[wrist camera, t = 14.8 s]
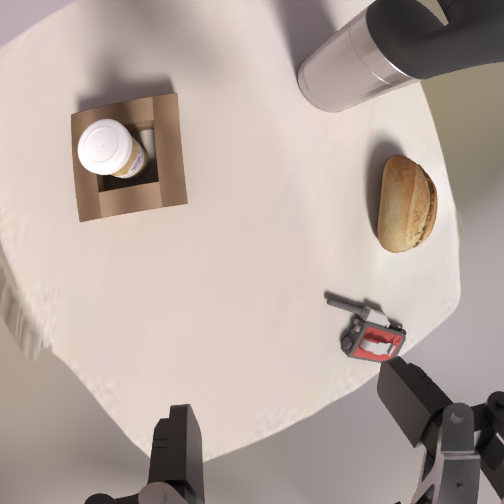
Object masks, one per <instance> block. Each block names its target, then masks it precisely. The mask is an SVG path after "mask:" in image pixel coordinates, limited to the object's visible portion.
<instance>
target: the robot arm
mask: <svg viewBox="0 0 504 504" xmlns="http://www.w3.org/2000/svg"><path fill="white" fill-rule="evenodd" d="M437 1H438V3H439V5H440V6H441V8H442V10H443V12H444V14H445V16H446V18H447V20H448V22H449V23H448V24H447V25H446V26H444V25H443V24H442V23H441V22H440V21H439V19H438V18H437V17H436V16H434V14H433V13H432V12H430V10H429V9H427V8H426V7H425V6H424V5H422V4H421V3H419V2H418V1H416V0H376V1H374V2H373V3H372V4H371V5H369V6H368V7H367V8H365V9H364V10H363V11H362V12H360V13H359V14H358V15H357V16H355V17H354V18H353V19H352V20H351V21H349V22H348V23H347V24H346V25H345V26H343V27H342V28H341V29H340V30H339V31H337V32H336V33H335V34H334V35H333V36H332V37H330V38H329V39H328V40H327V41H326V42H325V43H324V44H322V45H321V46H320V47H319V48H318V49H317V50H316V51H315V52H314V53H312V54H311V55H310V56H309V57H308V58H307V59H306V60H305V61H304V62H303V63H302V64H301V66H300V68H299V70H298V84H299V87H300V89H301V91H302V93H303V95H304V96H305V98H306V99H307V100H308V101H309V102H310V103H311V104H312V105H314V106H315V107H317V108H319V109H321V110H323V111H327V112H340V111H343V110H345V109H347V108H350V107H352V106H355V105H357V104H360V103H362V102H365V101H367V100H370V99H372V98H375V97H378V96H380V95H383V94H385V93H388V92H391V91H394V90H396V89H399V88H402V87H405V86H407V85H410V84H413V83H416V82H419V81H422V80H425V79H428V78H431V77H434V76H437V75H441V74H445V73H449V72H453V71H457V70H461V69H465V68H469V67H473V66H478V65H484V64H489V63H497V62H504V0H437ZM377 391H378V395H379V397H380V399H381V400H382V402H383V403H384V405H385V406H386V408H387V409H388V410H389V412H390V413H391V415H392V416H393V418H394V419H395V421H396V422H397V424H398V425H399V426H400V428H401V429H402V431H403V432H404V434H405V435H406V437H407V438H408V440H409V441H410V443H411V444H412V445H413V447H414V448H417V447H418V446H420V445H422V444H423V445H424V446H425V447H426V448H425V450H424V455H423V461H422V467H421V472H420V477H419V481H418V485H417V488H416V491H415V493H414V495H413V497H412V500H411V503H410V504H477V499H478V490H479V478H480V468H481V470H482V471H483V472H484V474H485V476H486V477H487V479H488V480H489V481H490V483H491V485H492V486H493V488H494V489H495V491H496V492H497V494H498V496H499V497H500V499H501V503H500V504H504V445H503V443H502V442H501V441H500V440H499V438H498V437H497V436H496V434H497V432H498V434H499V435H500V436H501V437H502V439H503V440H504V392H502V391H497V392H494V393H492V394H491V395H490V396H489V397H488V399H487V402H486V403H483V404H480V405H477V406H473V407H469V406H468V405H466V404H464V403H453V402H452V401H451V400H450V399H449V398H448V397H447V396H446V394H445V393H444V392H443V391H442V390H441V389H440V388H439V387H438V386H437V385H436V384H435V383H434V382H433V381H432V380H431V378H429V377H428V376H427V374H426V373H425V372H424V371H423V370H422V369H421V368H420V367H418V366H416V365H413V364H412V363H409V364H406V362H405V361H404V360H403V359H402V358H401V357H400V356H396V357H393V358H391V359H388V360H385V361H383V362H382V363H381V367H380V373H379V379H378V384H377ZM85 504H205V498H204V481H203V460H202V437H201V431H200V428H199V425H198V422H197V420H196V418H195V415H194V413H193V410H192V408H191V405H190V404H183V405H172V406H171V407H170V414H169V418H164V419H160V420H159V422H158V423H157V425H156V427H155V428H154V435H153V442H152V451H151V459H150V469H149V479H148V483H147V485H146V486H145V487H143V488H142V489H141V491H140V492H139V493H137V494H135V495H132V496H127V497H123V498H117V499H113V498H112V497H111V496H109V495H107V494H101V493H100V494H94V495H92V496H90V497H89V498H88V499H87V500H86V501H85ZM395 504H401V503H400V502H397V503H395Z"/></svg>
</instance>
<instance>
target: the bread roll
mask: <svg viewBox="0 0 504 504" xmlns="http://www.w3.org/2000/svg"><path fill="white" fill-rule="evenodd" d="M436 214H437V191H436V188H435V185H434V183H433V182H432V180H431V178H430V177H429V175H428V174H427V173H426V172H425V171H424V169H423V168H422V167H421V166H420V165H419V164H416V163H415V162H414V161H412V160H411V159H409V158H407V157H405V156H403V155H395V156H392V157H391V158H390V159H389V160H388V161H387V163H386V165H385V167H384V170H383V176H382V189H381V200H380V208H379V217H378V226H377V231H378V238H379V242H380V244H381V246H382V247H383V248H384V249H386V250H388V251H390V252H393V253H399V252H405V251H407V250H409V249H412V248H414V247H417V246H418V245H419V244H421V243H422V242H423V241H424V240H426V238H427V237H428V236H429V235H430V233H431V231H432V229H433V226H434V223H435V220H436Z"/></svg>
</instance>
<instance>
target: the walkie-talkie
mask: <svg viewBox="0 0 504 504" xmlns="http://www.w3.org/2000/svg"><path fill="white" fill-rule="evenodd" d="M327 304H328V305H331V306H334V307H338V308H341V309H344V310H347V311H350V312H353V313H356V314H358V315H359V316H360V317H358V318H357V319H354V320H353V323H354V325H353V327H352V329H351V331H350V333H349V335H348V337H345V338H344V339H343V341H342V348H341V349H342V351H343V352H344V353H345V354H346V355H347V356H348V357H351V358H356V359H361V360H368V361H372V362H373V361H374V362H378V363H379V362H380V363H382V362H383V361H385V360H388V359H391V358H393V357H396V356H397V355H398V353H399V351H400V349H401V347H402V346H403V344H404V342H405V338H406V337H405V335H406V331H405V330H404V329H401V328H398V327H394V326H391V324H390V322H388V319H387V316H386V315H385V314H384V313H382V312H380V311H378V310H375V309H372V308H370V307H369V306H366V305H365V307H364V308H359V307H356V306H353V305H350V304H347V303H344V302H341V301H338V300H335V299H332V298H329V299H328V300H327ZM402 331H403V332H402Z"/></svg>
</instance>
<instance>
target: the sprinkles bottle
mask: <svg viewBox="0 0 504 504" xmlns="http://www.w3.org/2000/svg"><path fill="white" fill-rule="evenodd" d="M78 157H79V160H80V162H81V164H82V165H83V166H84V167H85V168H86V169H87V170H89V171H90V172H93V173H96V174H100V175H108V174H109V175H113V176H115V177H120V178H124V179H128V180H129V179H135V178H137V177H139V176H140V175H141V174H142V173H143V172H144V171H145V170H146V168H147V165H148V155H147V152H146V151H145V149H144V148H143V147H142V146H140V144H139V143H138V142H137V141H136V140H135V139H134V138H133V137H132V136H131V135H130V134H129V132H128V130H127V129H126V128H125V127H124V126H123V125H122V124H120V123H119V122H117V121H115V120H112V119H102V120H98V121H96V122H94V123H92V124H91V125H90V126H88V127H87V128H86V129H85V131H84V132H83V134H82V135H81V137H80V140H79V143H78Z"/></svg>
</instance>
